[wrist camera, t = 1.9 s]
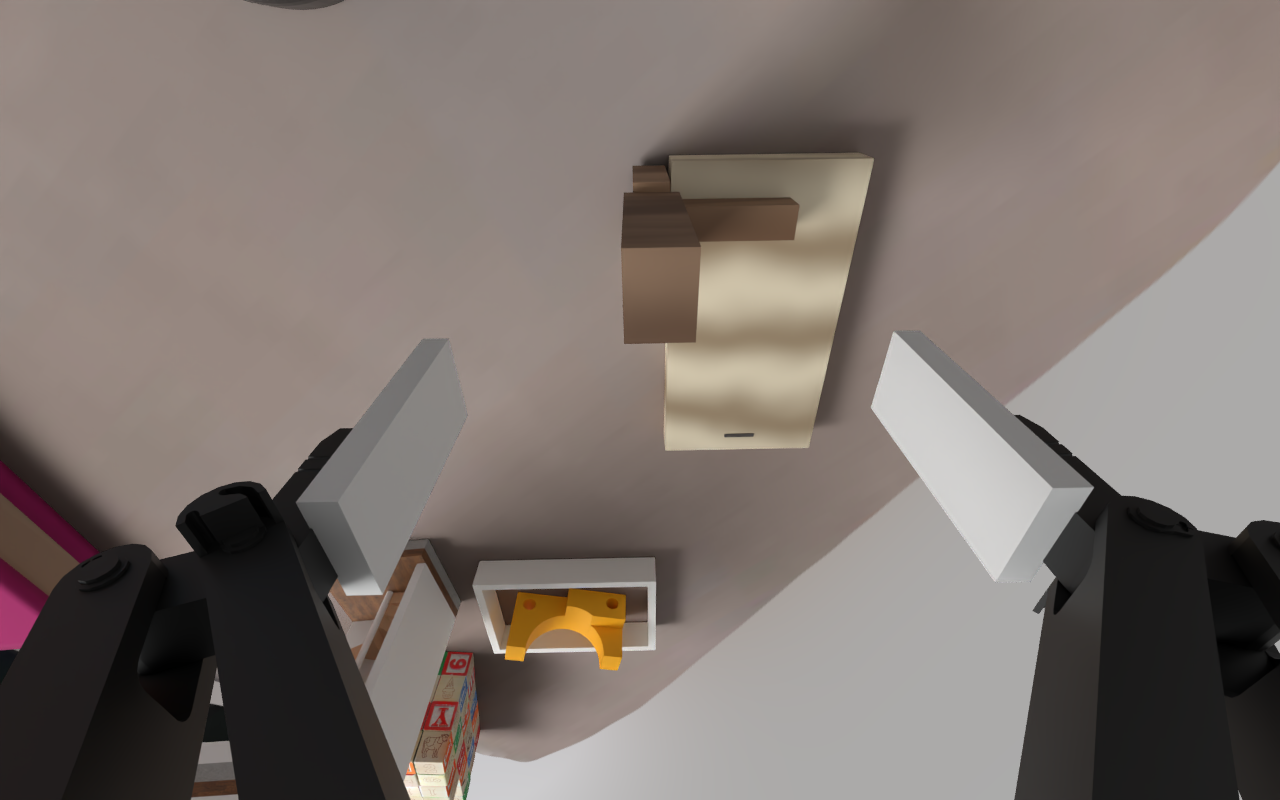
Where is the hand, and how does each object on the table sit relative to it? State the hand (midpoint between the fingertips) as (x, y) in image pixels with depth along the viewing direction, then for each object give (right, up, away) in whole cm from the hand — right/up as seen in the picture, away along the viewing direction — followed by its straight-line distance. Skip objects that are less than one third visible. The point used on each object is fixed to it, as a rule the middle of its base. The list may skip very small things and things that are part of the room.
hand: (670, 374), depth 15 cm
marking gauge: (+3, +12, +18) cm, 21 cm away
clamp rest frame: (-9, -23, +41) cm, 48 cm away
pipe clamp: (-9, -24, +42) cm, 49 cm away
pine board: (+7, +6, +22) cm, 24 cm away
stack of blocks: (-26, -41, +53) cm, 72 cm away
